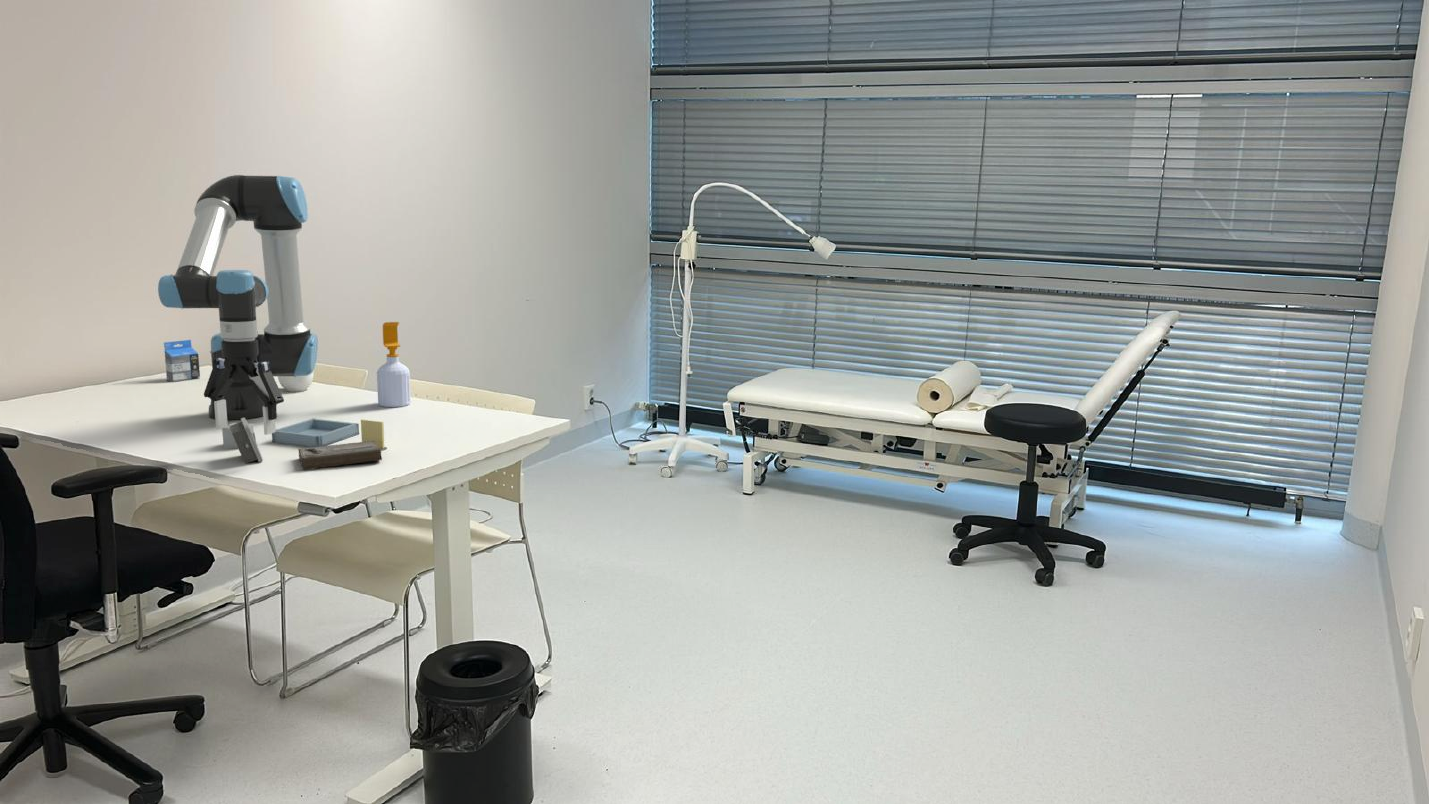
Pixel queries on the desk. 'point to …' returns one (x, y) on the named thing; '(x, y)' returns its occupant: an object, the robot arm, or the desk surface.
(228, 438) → the grey block
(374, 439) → the label card
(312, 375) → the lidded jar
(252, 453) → the electrical switch
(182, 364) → the label tape cartridge
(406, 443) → the desk surface
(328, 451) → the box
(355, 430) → the parts tray
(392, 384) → the soap bottle
